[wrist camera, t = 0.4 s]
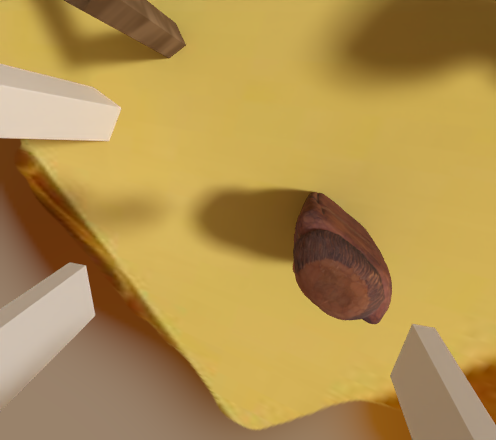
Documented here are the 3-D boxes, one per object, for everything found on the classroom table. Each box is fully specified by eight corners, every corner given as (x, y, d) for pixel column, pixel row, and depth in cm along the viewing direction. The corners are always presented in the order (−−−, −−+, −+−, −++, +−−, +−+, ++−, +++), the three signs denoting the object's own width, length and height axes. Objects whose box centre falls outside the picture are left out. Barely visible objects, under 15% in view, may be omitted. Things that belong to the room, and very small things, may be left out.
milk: (93, 86, 42) (-132, 27, 22) (122, 108, 41) (-82, 67, 21) (82, 122, 44) (-133, 97, 24) (109, 142, 44) (-87, 135, 23)
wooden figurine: (286, 215, 38) (251, 268, 21) (318, 182, 36) (306, 212, 19) (349, 272, 37) (362, 372, 21) (386, 242, 35) (434, 328, 18)
